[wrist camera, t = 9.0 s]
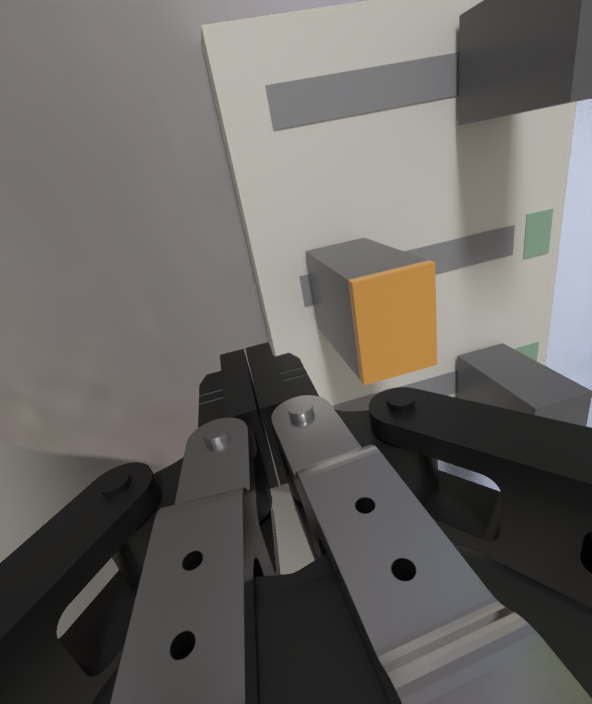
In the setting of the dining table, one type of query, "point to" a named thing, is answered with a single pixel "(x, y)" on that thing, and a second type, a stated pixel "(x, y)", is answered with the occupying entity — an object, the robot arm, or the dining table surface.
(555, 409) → the block
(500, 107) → the block
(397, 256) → the block
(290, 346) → the breaker panel
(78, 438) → the dining table surface
